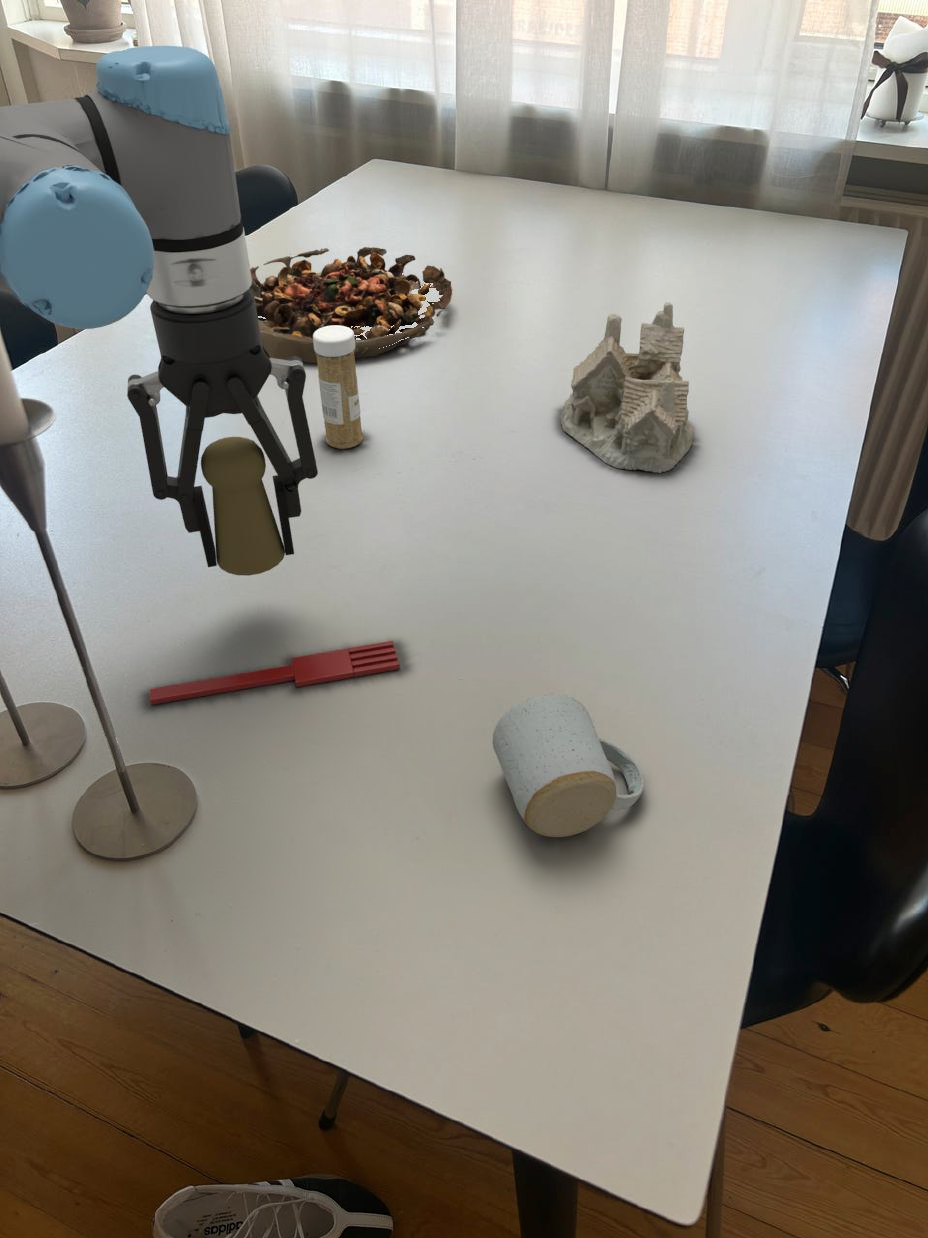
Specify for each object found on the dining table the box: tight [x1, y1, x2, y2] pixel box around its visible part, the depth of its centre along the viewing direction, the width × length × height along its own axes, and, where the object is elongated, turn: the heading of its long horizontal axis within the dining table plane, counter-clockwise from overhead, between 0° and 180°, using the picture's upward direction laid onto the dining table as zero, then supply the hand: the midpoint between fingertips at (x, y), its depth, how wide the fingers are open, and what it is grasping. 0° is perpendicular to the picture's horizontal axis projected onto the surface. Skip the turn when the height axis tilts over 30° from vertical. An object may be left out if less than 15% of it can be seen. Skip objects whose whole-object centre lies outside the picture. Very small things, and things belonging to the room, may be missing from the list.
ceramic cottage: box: [559, 301, 694, 474], centre depth 110 cm, size 16×16×15 cm
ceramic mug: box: [491, 693, 645, 838], centre depth 70 cm, size 11×8×8 cm
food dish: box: [249, 246, 453, 364], centre depth 140 cm, size 35×33×8 cm
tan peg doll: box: [200, 436, 286, 577], centre depth 82 cm, size 6×6×11 cm
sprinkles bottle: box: [313, 325, 364, 450], centre depth 110 cm, size 5×5×14 cm
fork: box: [149, 640, 401, 705], centre depth 83 cm, size 21×3×1 cm, turn 104°
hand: (250, 551), depth 85 cm, fingers closed on tan peg doll, 6 cm apart
